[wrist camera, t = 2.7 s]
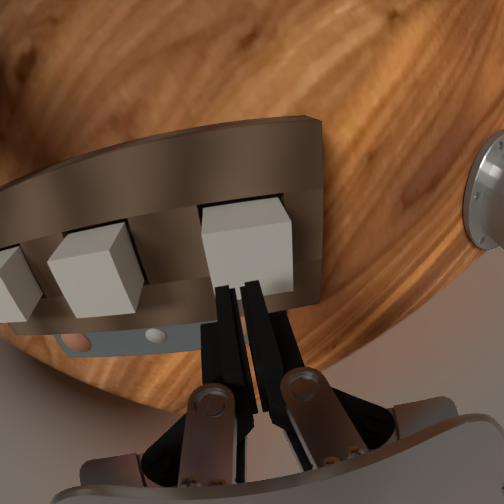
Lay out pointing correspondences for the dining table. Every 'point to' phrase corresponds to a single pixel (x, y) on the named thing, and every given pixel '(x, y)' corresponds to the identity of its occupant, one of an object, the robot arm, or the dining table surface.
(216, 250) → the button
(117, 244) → the button middle
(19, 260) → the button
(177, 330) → the pattern card
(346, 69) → the dining table surface
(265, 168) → the button board
